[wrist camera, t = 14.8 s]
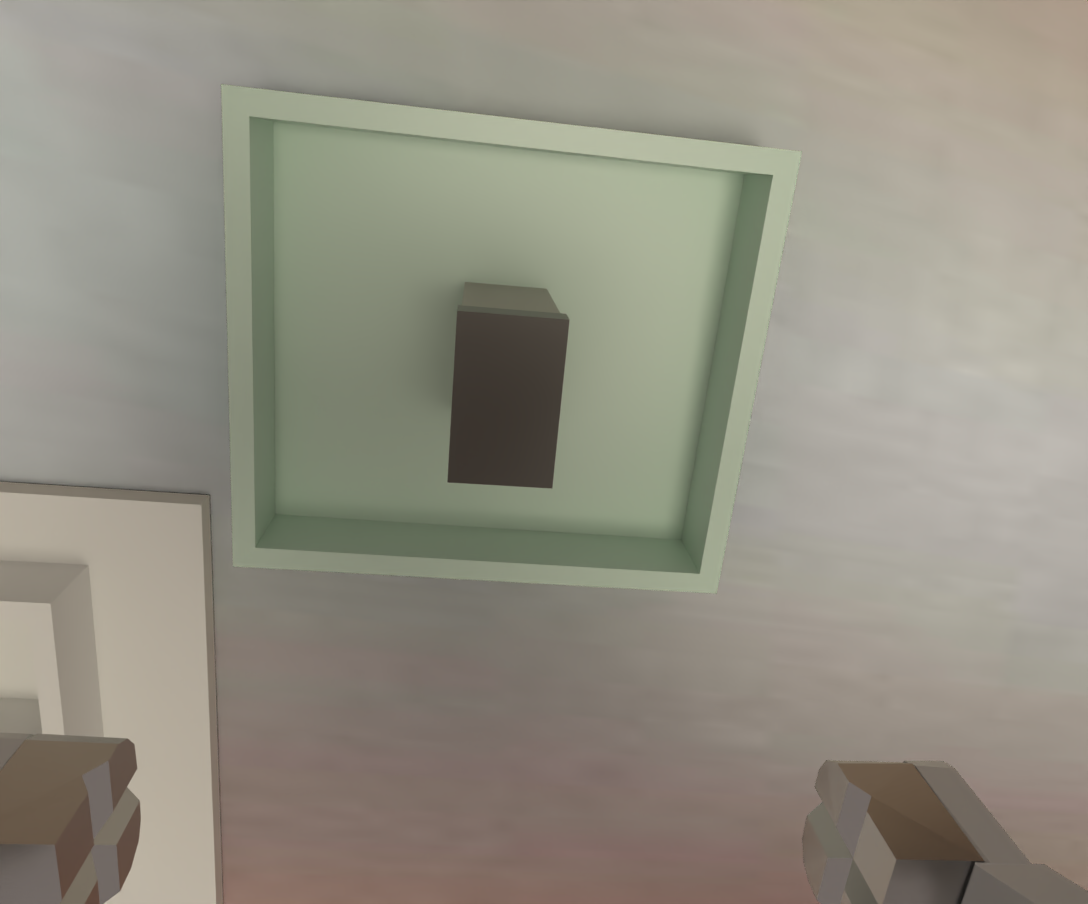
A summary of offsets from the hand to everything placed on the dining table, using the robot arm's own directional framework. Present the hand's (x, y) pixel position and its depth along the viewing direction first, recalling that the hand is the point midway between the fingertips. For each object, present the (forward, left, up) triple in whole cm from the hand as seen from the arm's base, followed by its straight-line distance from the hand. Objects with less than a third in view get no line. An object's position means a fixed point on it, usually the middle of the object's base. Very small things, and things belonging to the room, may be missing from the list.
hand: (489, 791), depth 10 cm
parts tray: (-1, -1, -23) cm, 23 cm away
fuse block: (+17, +17, -23) cm, 34 cm away
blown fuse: (-1, -1, -22) cm, 22 cm away
